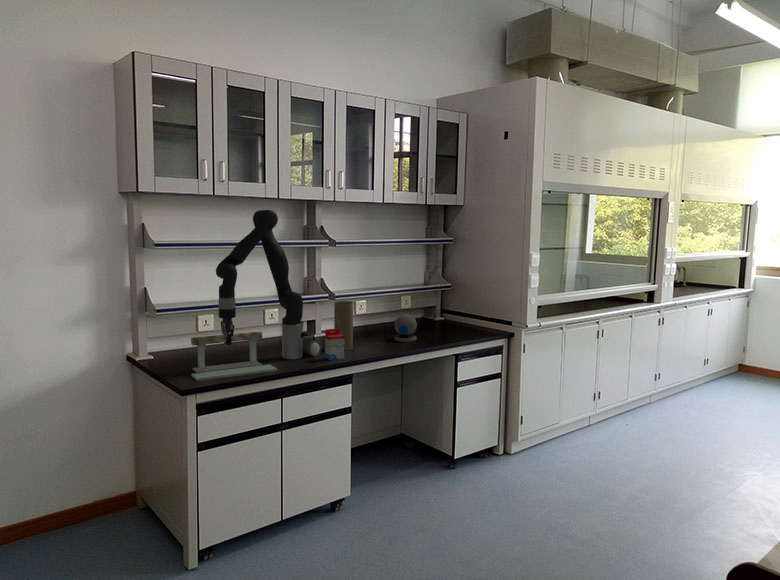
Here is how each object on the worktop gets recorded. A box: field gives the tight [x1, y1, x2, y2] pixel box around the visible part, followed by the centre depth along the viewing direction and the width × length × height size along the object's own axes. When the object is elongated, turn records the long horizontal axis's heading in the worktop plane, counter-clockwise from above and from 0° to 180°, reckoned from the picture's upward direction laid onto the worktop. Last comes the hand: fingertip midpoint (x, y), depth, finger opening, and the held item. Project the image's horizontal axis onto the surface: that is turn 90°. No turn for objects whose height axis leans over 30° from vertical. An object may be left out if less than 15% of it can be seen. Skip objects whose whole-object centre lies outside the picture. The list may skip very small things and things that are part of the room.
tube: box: [333, 300, 354, 351], centre depth 316 cm, size 10×10×25 cm
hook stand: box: [192, 334, 263, 374], centre depth 270 cm, size 30×8×15 cm, turn 122°
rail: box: [190, 331, 263, 346], centre depth 269 cm, size 32×3×3 cm, turn 122°
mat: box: [190, 364, 278, 382], centre depth 262 cm, size 36×9×1 cm, turn 122°
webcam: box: [393, 313, 418, 343], centre depth 343 cm, size 13×13×15 cm
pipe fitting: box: [302, 335, 322, 358], centre depth 301 cm, size 12×8×10 cm
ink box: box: [324, 328, 345, 361], centre depth 293 cm, size 8×5×15 cm, turn 126°
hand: (227, 344), depth 270 cm, fingers closed on rail, 3 cm apart
